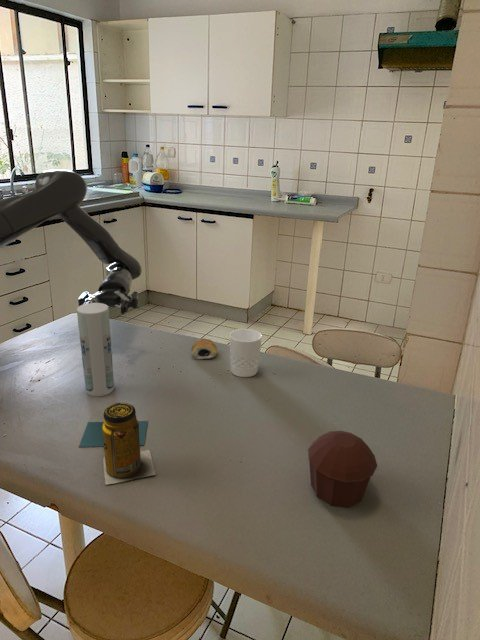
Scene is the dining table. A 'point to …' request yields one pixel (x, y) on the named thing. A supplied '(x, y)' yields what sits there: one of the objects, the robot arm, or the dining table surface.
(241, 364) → the white cup
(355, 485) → the muffin
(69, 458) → the dining table surface
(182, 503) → the dining table surface
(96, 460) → the dining table surface
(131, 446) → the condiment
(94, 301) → the robot arm
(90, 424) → the mat
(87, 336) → the spray can
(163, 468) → the dining table surface
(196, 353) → the pastry
